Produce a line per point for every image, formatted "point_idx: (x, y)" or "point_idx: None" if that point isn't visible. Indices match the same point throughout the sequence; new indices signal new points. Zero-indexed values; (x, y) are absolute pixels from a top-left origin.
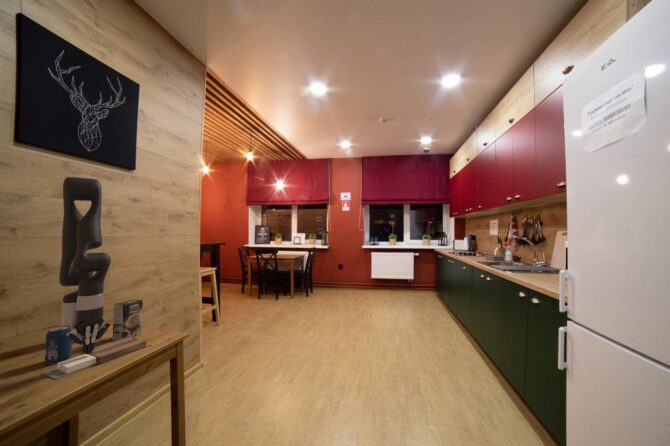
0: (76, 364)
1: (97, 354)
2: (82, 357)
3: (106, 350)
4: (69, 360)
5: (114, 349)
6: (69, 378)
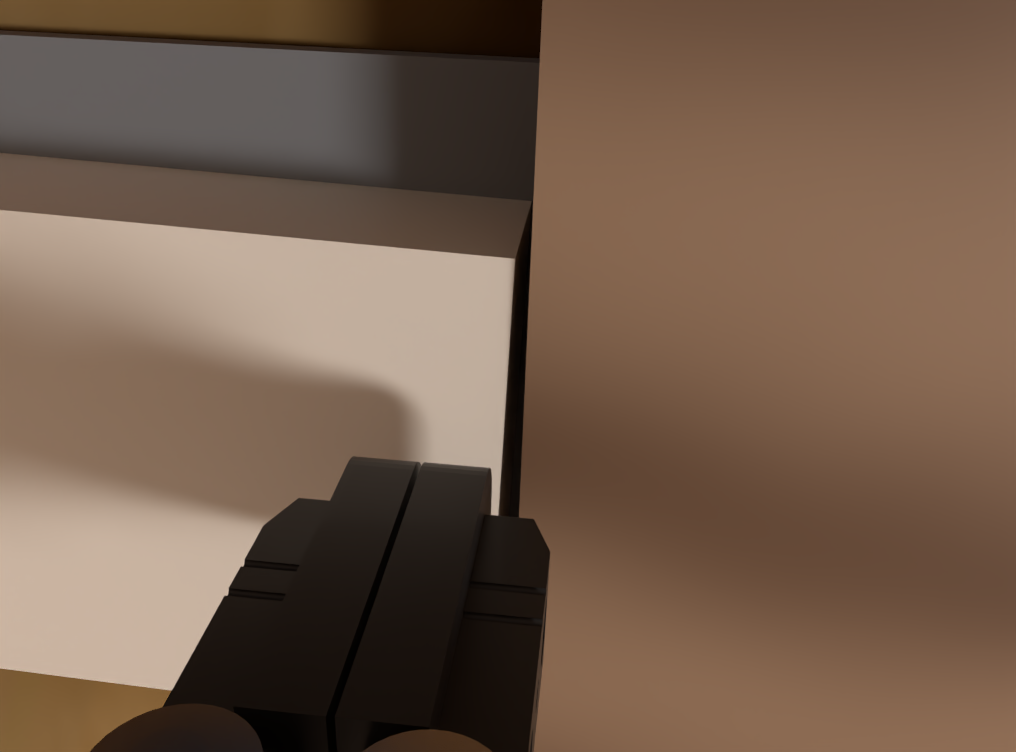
0: (96, 675)
1: (582, 644)
2: (322, 433)
3: (864, 613)
4: (52, 306)
5: (975, 738)
6: (21, 716)
